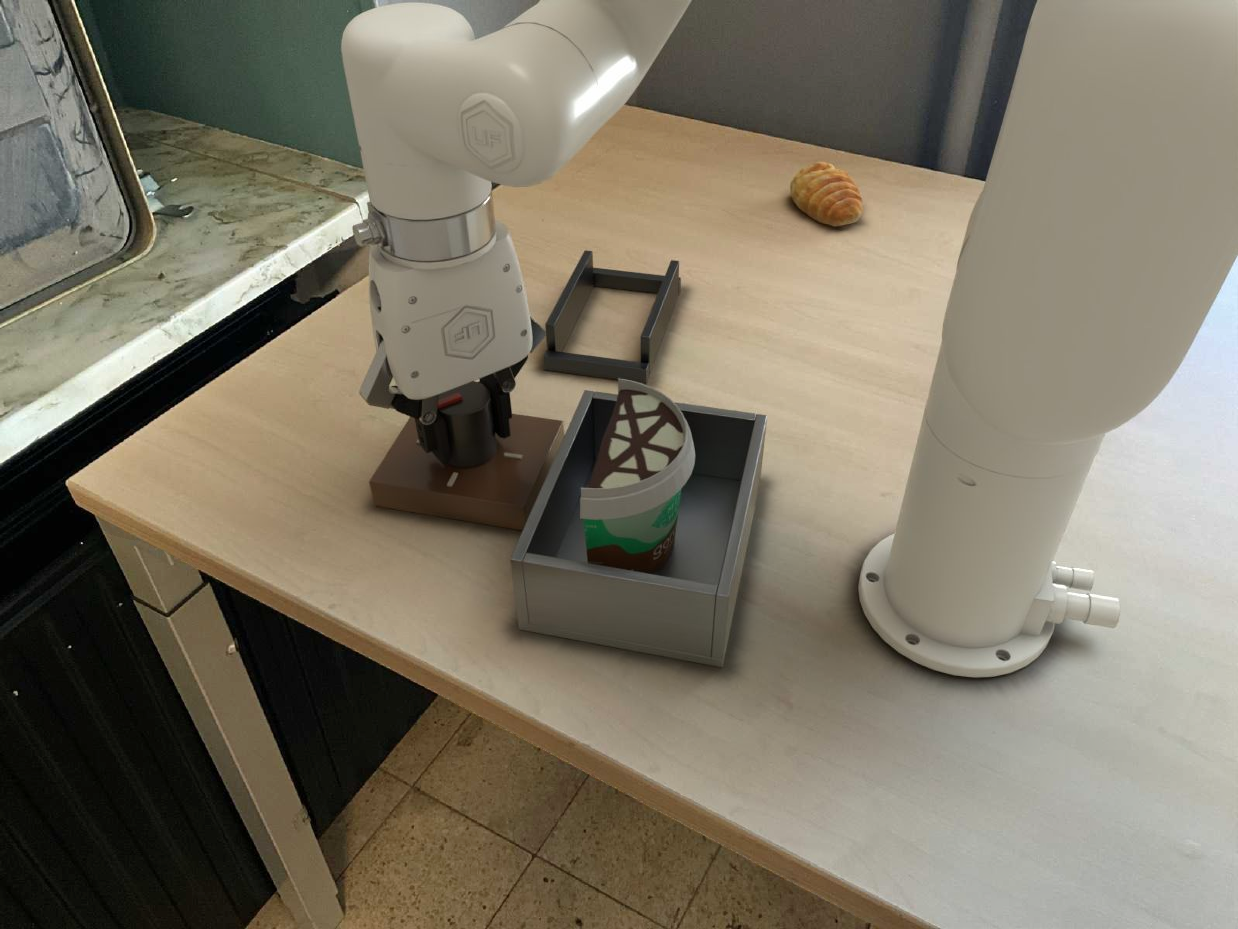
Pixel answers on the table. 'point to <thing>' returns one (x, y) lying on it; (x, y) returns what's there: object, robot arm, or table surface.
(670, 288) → the dish rack
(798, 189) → the pastry
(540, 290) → the table surface
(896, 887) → the table surface
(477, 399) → the tap knob
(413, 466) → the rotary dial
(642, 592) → the grey open box
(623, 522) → the food container
